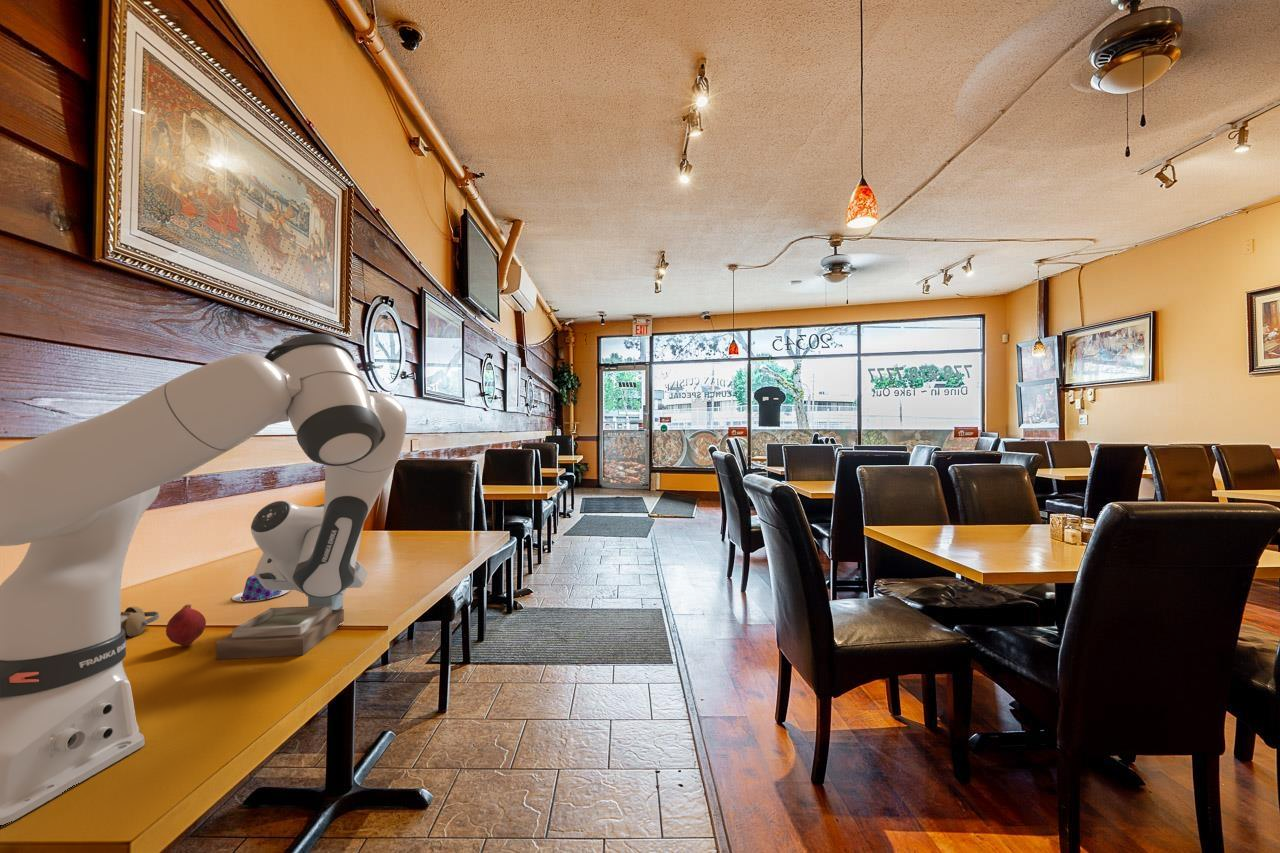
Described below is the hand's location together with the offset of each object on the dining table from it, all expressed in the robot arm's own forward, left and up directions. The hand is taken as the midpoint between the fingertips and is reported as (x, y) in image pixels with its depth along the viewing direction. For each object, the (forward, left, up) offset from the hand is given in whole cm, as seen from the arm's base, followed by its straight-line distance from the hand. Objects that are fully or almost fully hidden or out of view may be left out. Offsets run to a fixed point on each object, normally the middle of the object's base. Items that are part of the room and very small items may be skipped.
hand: (327, 592), depth 121 cm
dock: (-16, 0, -4) cm, 16 cm away
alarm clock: (-9, +38, -5) cm, 39 cm away
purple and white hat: (+15, +23, -5) cm, 28 cm away
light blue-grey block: (-1, 0, -4) cm, 4 cm away
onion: (-17, +18, -5) cm, 25 cm away
